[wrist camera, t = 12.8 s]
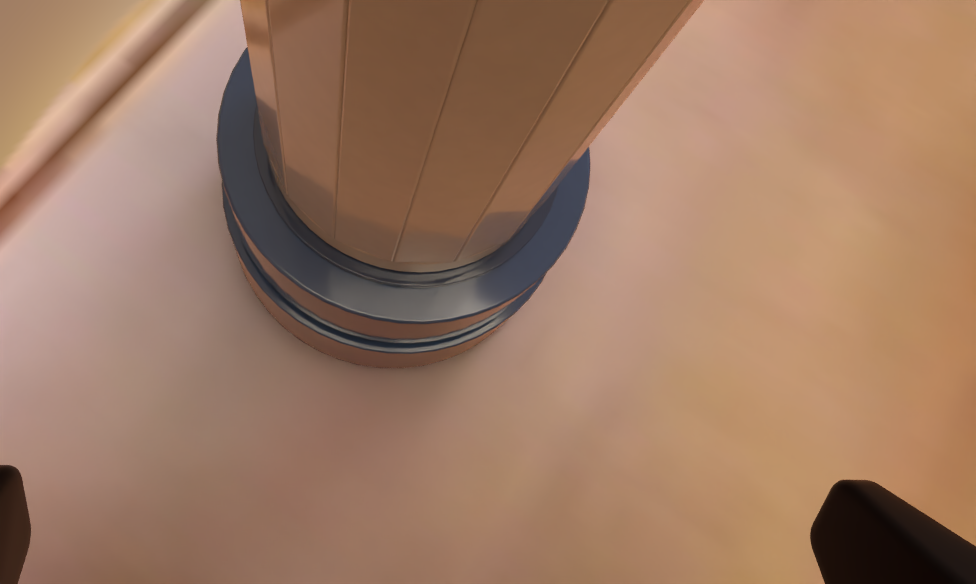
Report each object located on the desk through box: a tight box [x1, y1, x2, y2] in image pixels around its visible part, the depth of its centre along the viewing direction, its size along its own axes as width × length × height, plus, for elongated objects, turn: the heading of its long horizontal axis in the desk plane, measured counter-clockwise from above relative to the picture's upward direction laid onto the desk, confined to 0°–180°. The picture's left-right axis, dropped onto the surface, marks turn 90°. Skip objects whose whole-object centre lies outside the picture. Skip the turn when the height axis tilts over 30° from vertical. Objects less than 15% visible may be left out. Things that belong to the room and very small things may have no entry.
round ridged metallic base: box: [216, 47, 590, 368], centre depth 20 cm, size 9×9×5 cm
